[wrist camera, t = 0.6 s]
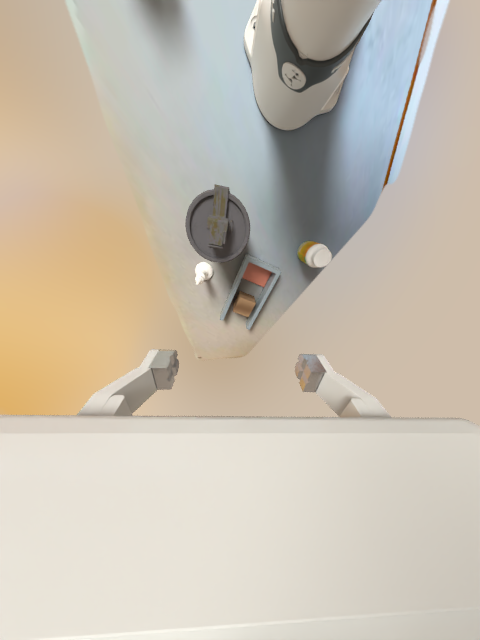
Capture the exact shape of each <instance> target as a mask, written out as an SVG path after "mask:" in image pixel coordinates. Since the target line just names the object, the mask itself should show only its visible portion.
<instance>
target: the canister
mask: <svg viewBox="0 0 480 640" xmlns="http://www.w3.org/2000/svg"><path fill="white" fill-rule="evenodd" d="M186 232H187V236H188V239H189V241H190V243H191V245H192V246H193V248H194V249H195V250H196V252H197V253H198V254H199V255H201V256H202V257H204V258H205V259H207V260H210V261H213V262H227V261H230V260H233V259H234V258H236V257H237V256H238V255H239V254H240V253H241V252H242V251H243V250H244V248H245V247H246V245H247V242H248V239H249V234H250V222H249V217H248V214H247V212H246V209H245V207H244V206H243V204H242V203H241V202H240V201H239V199H237V198H236V197H235V196H234V195H232V194H230V191H229V187H224V186H219V185H215V188H214V190H208V191H205V192H203V193H201V194H200V195H198V196H197V197H196V198H195V199H194V200H193V202H192V203H191V205H190V206H189V209H188V212H187V216H186Z"/></svg>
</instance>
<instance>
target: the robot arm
mask: <svg viewBox="0 0 480 640" xmlns="http://www.w3.org/2000/svg"><path fill="white" fill-rule="evenodd" d="M380 2H381V0H257V2H256V5H255V7H254V10H253V12H252V14H251V17H250V19H249V22H248V24H247V27H246V30H245V34H244V47H245V51H246V54H247V56H248V59H249V62H250V64H251V69H252V78H253V88H254V93H255V97H256V101H257V104H258V106H259V108H260V110H261V112H262V114H263V116H264V117H265V118H266V120H267V121H268V122H269V123H270V124H272V125H273V126H275V127H276V128H279V129H282V130H293V129H297V128H299V127H301V126H303V125H305V124H306V123H307V122H308V121H310V120H311V119H312V118H313V117H315V116H316V115H319V114H323V113H327V112H329V111H330V110H332V109H333V107H334V106H335V104H336V102H337V100H338V97H339V94H340V91H341V88H342V85H343V82H344V79H345V77H346V75H347V73H348V71H349V64H350V61H351V58H352V55H353V52H354V49H355V47H356V45H357V44H358V42H359V40H360V39H361V37H362V35H363V33H364V31H365V29H366V28H367V26H368V24H369V22H370V20H371V17H372V15H373V13H374V11H375V9H376V8H377V6H378V5H379V3H380ZM254 26H255V31H254V29H253V27H254ZM298 360H299V362H297V363H296V366H295V372H296V376H297V378H298V379H300V386H301V388H302V391H303V392H316V394H317V395H318V396H319V397H320V398H321V399H322V400H324V402H326V404H327V405H329V407H330V408H331V409H332V410H333V411H334V412H335V413H337V415H339V417H234V416H232V417H231V416H226V417H225V416H132V413H133V412H134V411H135V410H137V409H138V408H139V407H140V406H141V405H142V404H143V403H144V402H145V401H146V400H147V399H148V398H149V397H150V396H151V395H153V394H154V393H155V391H157V390H161V389H162V390H163V389H172V386H173V383H174V376H176V375H177V372H178V368H179V361H178V359H177V351H176V350H161V349H160V350H158V349H152V350H150V352H149V353H148V355H147V356H146V358H145V359H144V361H143V362H142V364H141V365H140V367H139V368H135V369H134V370H132V371H131V372H129V373H127V374H126V375H124V376H122V377H121V378H119V379H118V380H116V381H114V382H112V383H111V384H109V385H107V386H106V387H104V388H102V389H101V390H99V391H98V392H96V393H94V394H93V395H92V397H91V398H90V399H89V400H88V402H87V403H86V404H85V405H84V407H83V408H82V409H81V410H80V411H79V413H78V414H77V415H0V640H480V426H479V425H477V424H475V423H473V422H471V421H469V420H466V419H461V418H392V417H391V416H390V415H389V414H388V412H387V411H386V410H385V409H384V408H383V406H382V405H381V404H380V402H379V401H378V400H377V399H376V398H375V397H373V396H372V395H370V394H369V393H367V392H366V391H364V390H363V389H361V388H360V387H358V386H357V385H355V384H354V383H352V382H351V381H349V380H348V379H346V378H345V377H343V376H341V375H340V374H338V373H335V372H334V370H333V369H332V367H331V366H330V364H329V363H328V361H327V360H326V358H325V357H324V356H323V355H311V354H310V355H309V354H300V355H299V357H298Z"/></svg>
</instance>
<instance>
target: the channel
mask: <svg viewBox="0 0 480 640" xmlns="http://www.w3.org/2000/svg"><path fill="white" fill-rule="evenodd" d="M280 274H281V271H280V270H279V269H278V268H277V267H275V266H272V265H270V264H268V263H266V262H264V261H261V260H259V259H257V258H255V257H253V256H250V255H248V254H246V255H245V257H244V260H243V262H242V264H241V267H240V269H239V272H238V274H237V276H236V279H235V281H234V283H233V286H232V288H231V290H230V293H229V295H228V297H227V300H226V302H225V305H224V307H223V309H222V312H221V315H220V320H224V317H225V315H226V313H227V310H228V308H229V306H230V304H231V301H232V299H233V297H234V295H235V292H236V290H237V288H238V286H239V283H240V281H241V279H242V278H243V279H246V280H248V281H250V282H253V283H255V284H258V285H260V286H262V287H264V286H265V287H264V289H263V290H262V292H261V294H260V296H259V298H258V300H257V302H256V304H255V306H254V308H253V310H252V312H251V313H250V315H249V317H248V319H247V321H246V328H247V329H249V330H250V328H251V326H252V324H253V322H254V321H255V319H256V317H257V315H258V313H259V312H260V310H261V308H262V306H263V304H264V303H265V301H266V299H267V297H268V295H269V293H270V292H271V290H272V288H273V286H274V284H275V283H276V281H277V279H278V277H279V275H280ZM268 278H269V279H268ZM267 280H268V281H267ZM266 282H267V283H266ZM265 284H266V285H265Z"/></svg>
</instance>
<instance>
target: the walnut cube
mask: <svg viewBox="0 0 480 640" xmlns="http://www.w3.org/2000/svg"><path fill="white" fill-rule="evenodd" d="M255 304H256V302H255V298H254V296H252V295H249V294H247V293H244V292H242V291H239V292H238V295H237V297H236V299H235V301H234V303H233V312H235V313H238V314H241V315H244V316H246V317H249V315H250V313H251V312H252V310H253V308H254V306H255Z"/></svg>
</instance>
